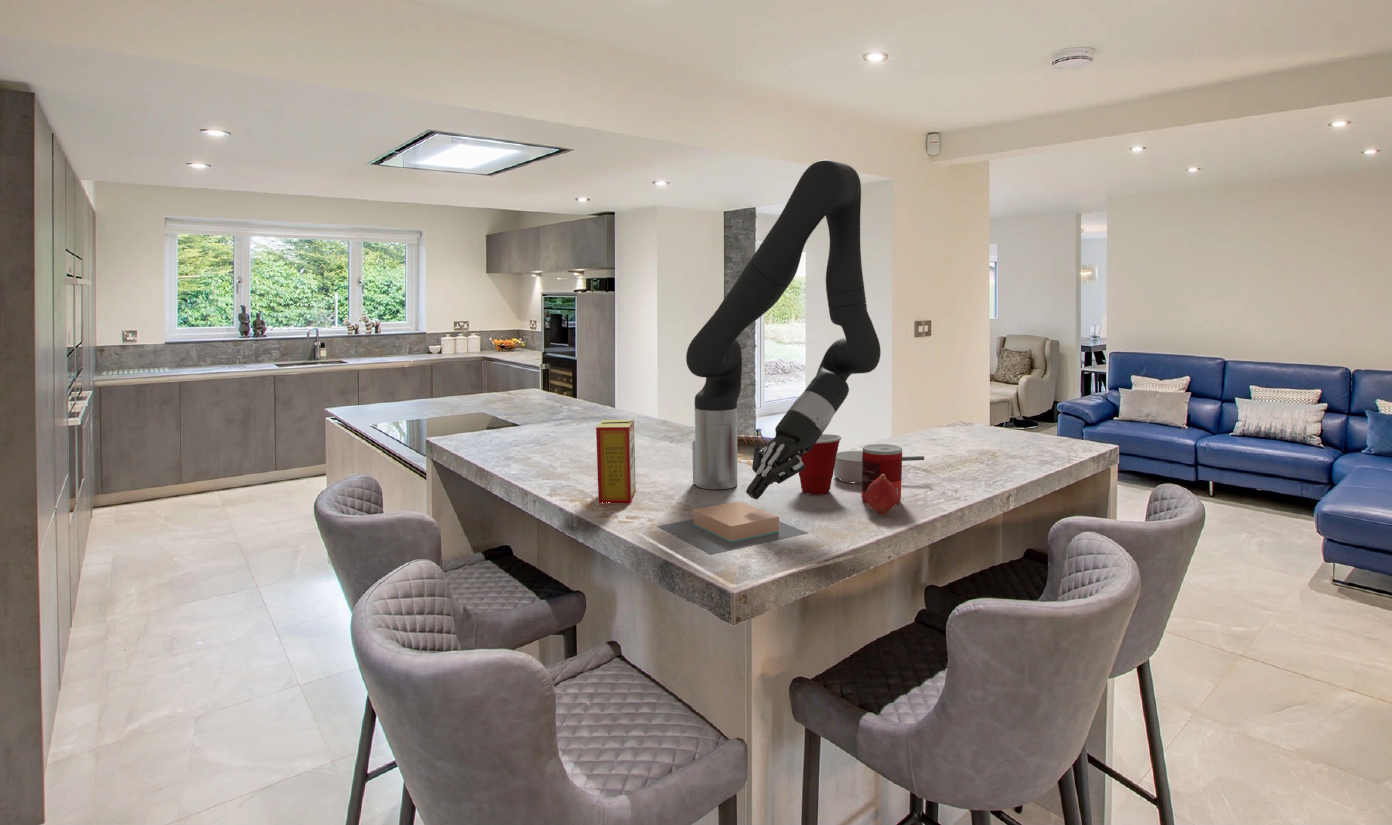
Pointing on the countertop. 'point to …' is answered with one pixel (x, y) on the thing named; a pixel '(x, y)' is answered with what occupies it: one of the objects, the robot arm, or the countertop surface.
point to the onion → (881, 495)
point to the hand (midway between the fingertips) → (751, 496)
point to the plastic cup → (819, 465)
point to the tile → (736, 521)
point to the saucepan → (855, 465)
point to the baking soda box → (616, 461)
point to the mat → (717, 544)
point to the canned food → (881, 466)
